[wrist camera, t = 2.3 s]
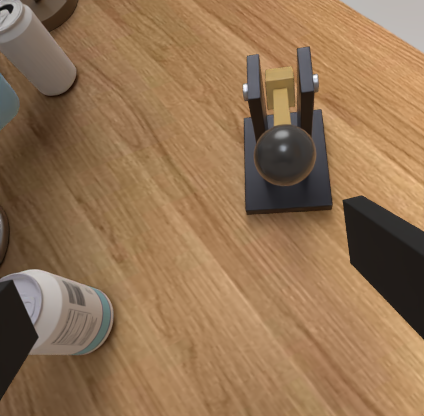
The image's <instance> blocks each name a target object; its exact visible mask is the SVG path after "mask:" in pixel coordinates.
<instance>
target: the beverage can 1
mask: <svg viewBox="0 0 424 416" xmlns="http://www.w3.org/2000/svg"><path fill="white" fill-rule="evenodd" d="M0 51H1V52H2V53H3V54H4V55H5V56H6V57H7V58H8V59H9V60H10V61H11V63H12V64H13V65H14V66H15V67H16V68H17V69H18V70H19V71H20V72H21V73H22V74H23V75H24V76H25V77H26V78H27V79H28V80H29V81H30V82H31V83H32V84H33V85H34V86H35V87H36V88H37V89H38V90H39V91H40V92H41V93H42V94H44V95H49V96H52V95H59V94H62V93H64V92H65V91H67V90H68V89H69V88H70V87H71V85H72V84H73V82H74V80H75V77H76V68H75V66H74V64H73V63H72V62H71V61H70V59H69V58H68V57H67V55H66V54H65V53H64V51H63V50H62V49H61V48H60V46H59V45H58V44H57V42H56V41H55V40H54V39H53V37H52V36H51V35H50V33H49V32H48V31H47V30H46V28H45V27H44V26H43V24H42V23H41V22H40V20H39V19H38V18H37V17H36V15H35V14H34V13H33V11H32V10H31V9H30V8H29V7H28V6H27V5H24V4H22V2H21V1H20V0H0Z"/></svg>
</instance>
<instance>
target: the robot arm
mask: <svg viewBox="0 0 424 416" xmlns="http://www.w3.org/2000/svg"><path fill="white" fill-rule="evenodd" d="M19 107H20V103H19V98H18V96H17V94H16V93H15V91H14V90H13V89H12V87H11V86H10V85H9V83H8V82H7V81H6V80H5V78H4V77H3V76H2V75H1V73H0V130H1V129H2V128H4V127H5V126H6V125H7V124H8V123H9V122H10V121H11V120H12V119H13V118H14V117H15V116H16V115H17V113H18V110H19ZM343 207H344V215H345V223H346V231H347V239H348V247H349V256H350V263H351V264H352V265H353V266H354V267H355V268H356V269H357V270H358V271H359V273H360V274H361V275H362V276H363V277H364V278H365V279H366V280H367V281H368V282H369V283H370V284H371V285H372V286H373V287H374V288H375V289H376V290H377V291H378V292H379V293H380V294H381V295H382V297H383V298H384V299H385V300H386V301H387V302H388V303H389V304H390V305H391V306H392V307H393V308H394V309H395V310H396V311H397V312H398V313H399V314H400V315H401V316H402V317H403V318H404V319H405V320H406V322H407V323H408V324H409V325H410V326H411V327H412V328H413V329H414V330H415V331H416V332H417V333H418V334H419V335H420V336H421V337H422V338H423V339H424V231H422V230H420V229H419V228H417V227H415V226H413V225H412V224H410V223H408V222H407V221H405V220H403V219H402V218H400V217H398V216H396V215H395V214H393V213H391V212H390V211H388V210H386V209H384V208H383V207H381V206H379V205H378V204H376V203H374V202H372V201H371V200H369V199H367V198H366V197H364V196H358V197H353V198H349V199H345V200H343ZM8 239H9V225H8V220H7V217H6V214H5V212H4V210H3V208H2V207H1V206H0V264H1V262H2V260H3V258H4V255H5V252H6V249H7V245H8ZM38 338H39V336H38V334H37V332H36V330H35V328H34V325H33V323H32V321H31V319H30V317H29V314H28V312H27V310H26V308H25V306H24V303H23V301H22V299H21V297H20V295H19V292H18V290H17V288H16V286H15V284H14V281H13V279H11V280H7V281H3V282H0V400H1V398H2V397H3V395H4V394H5V392H6V390H7V389H8V387H9V385H10V384H11V382H12V380H13V379H14V377H15V376H16V374H17V372H18V371H19V369H20V367H21V366H22V364H23V362H24V361H25V359H26V358H27V356H28V354H29V353H30V351H31V349H32V348H33V346H34V344H35V343H36V341H37V340H38Z"/></svg>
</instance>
